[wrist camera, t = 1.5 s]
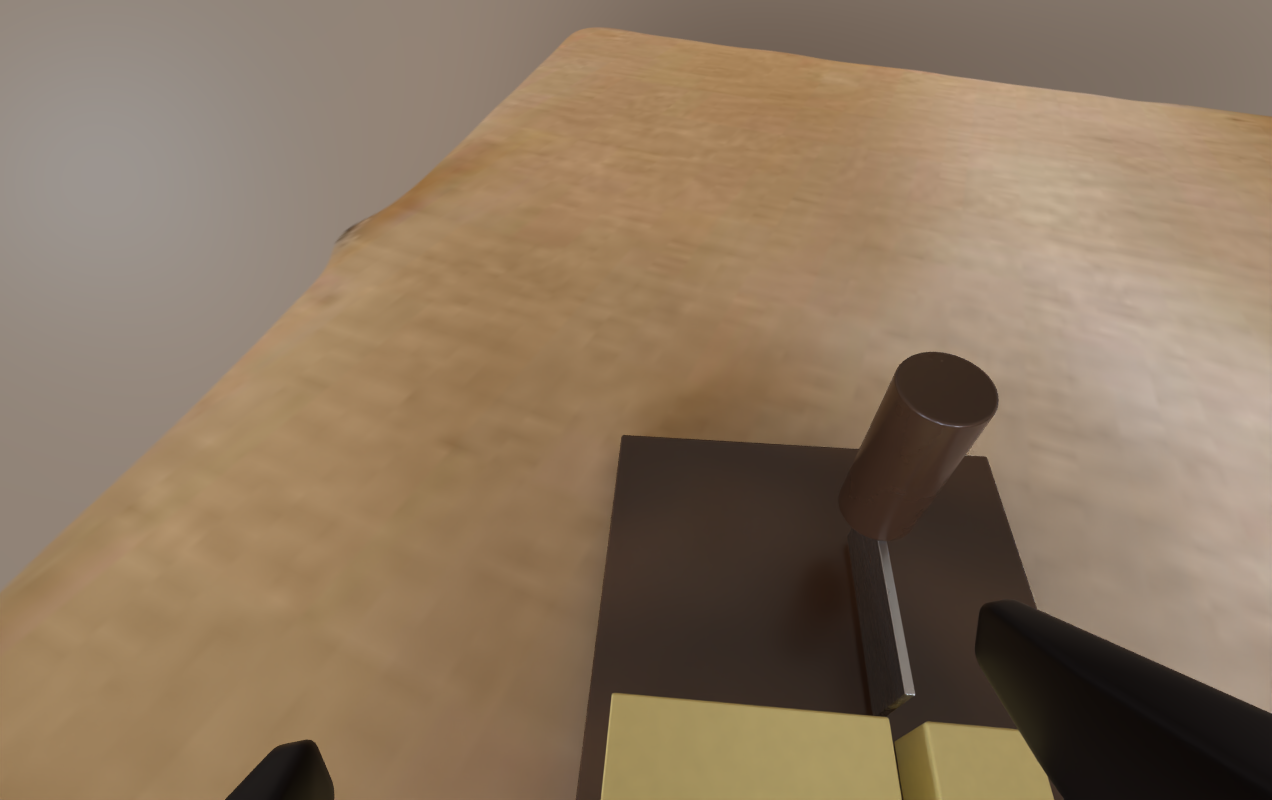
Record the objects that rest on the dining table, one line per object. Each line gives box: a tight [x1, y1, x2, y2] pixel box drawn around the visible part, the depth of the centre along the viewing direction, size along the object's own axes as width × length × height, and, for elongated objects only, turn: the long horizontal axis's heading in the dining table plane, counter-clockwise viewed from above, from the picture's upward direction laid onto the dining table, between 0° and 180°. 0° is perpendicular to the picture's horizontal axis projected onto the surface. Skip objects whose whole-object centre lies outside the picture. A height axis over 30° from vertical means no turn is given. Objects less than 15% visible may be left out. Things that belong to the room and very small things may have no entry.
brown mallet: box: [838, 352, 999, 717], centre depth 18 cm, size 7×3×10 cm, turn 175°
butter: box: [601, 693, 902, 800], centre depth 18 cm, size 4×8×3 cm, turn 85°
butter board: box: [576, 435, 1064, 800], centre depth 21 cm, size 20×16×2 cm
